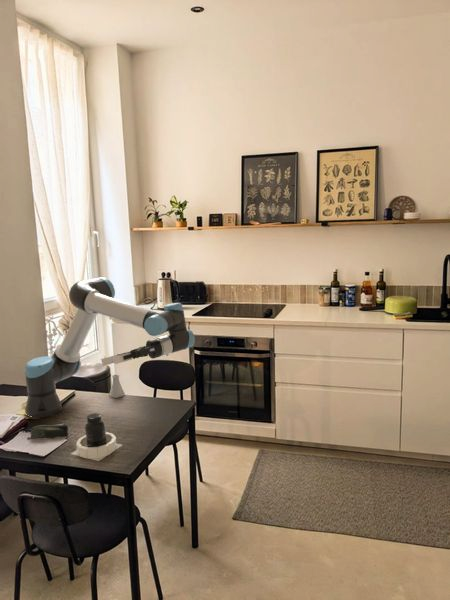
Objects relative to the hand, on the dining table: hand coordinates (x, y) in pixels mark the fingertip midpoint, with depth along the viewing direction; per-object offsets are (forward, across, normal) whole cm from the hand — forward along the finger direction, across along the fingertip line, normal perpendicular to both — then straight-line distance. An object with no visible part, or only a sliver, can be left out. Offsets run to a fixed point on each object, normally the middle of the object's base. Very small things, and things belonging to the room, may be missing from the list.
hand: (108, 361), depth 175 cm
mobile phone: (+22, +24, -23) cm, 40 cm away
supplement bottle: (+11, +2, -29) cm, 31 cm away
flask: (-17, +49, -19) cm, 55 cm away
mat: (+11, +2, -30) cm, 32 cm away
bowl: (+11, +2, -30) cm, 32 cm away
